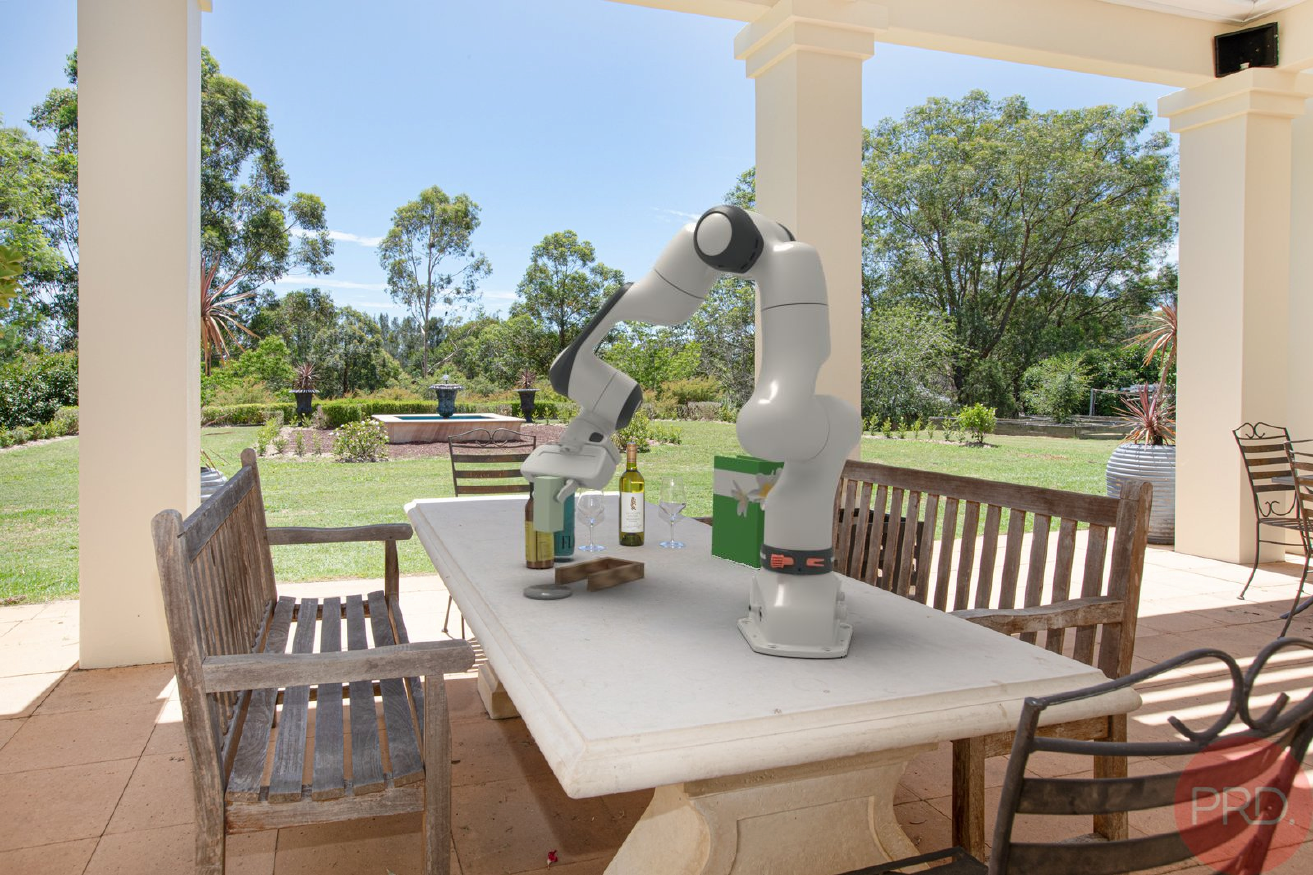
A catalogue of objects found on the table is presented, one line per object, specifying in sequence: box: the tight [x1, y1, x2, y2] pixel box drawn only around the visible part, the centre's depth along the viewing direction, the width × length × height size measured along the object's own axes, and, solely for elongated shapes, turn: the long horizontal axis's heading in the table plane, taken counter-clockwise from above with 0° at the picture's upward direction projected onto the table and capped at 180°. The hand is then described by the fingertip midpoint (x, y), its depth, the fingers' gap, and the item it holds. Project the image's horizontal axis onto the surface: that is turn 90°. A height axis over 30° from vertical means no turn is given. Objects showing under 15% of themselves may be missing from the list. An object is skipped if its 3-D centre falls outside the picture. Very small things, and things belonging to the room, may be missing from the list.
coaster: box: [522, 583, 572, 601], centre depth 161 cm, size 9×9×1 cm
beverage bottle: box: [554, 492, 576, 557], centre depth 193 cm, size 6×7×20 cm
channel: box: [554, 556, 645, 592], centre depth 174 cm, size 16×10×3 cm, turn 144°
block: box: [533, 476, 565, 533], centre depth 160 cm, size 4×4×10 cm
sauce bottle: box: [524, 482, 555, 570], centre depth 185 cm, size 6×6×20 cm
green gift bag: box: [711, 454, 785, 568], centre depth 197 cm, size 18×7×24 cm, turn 30°
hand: (546, 499), depth 160 cm, fingers closed on block, 4 cm apart
